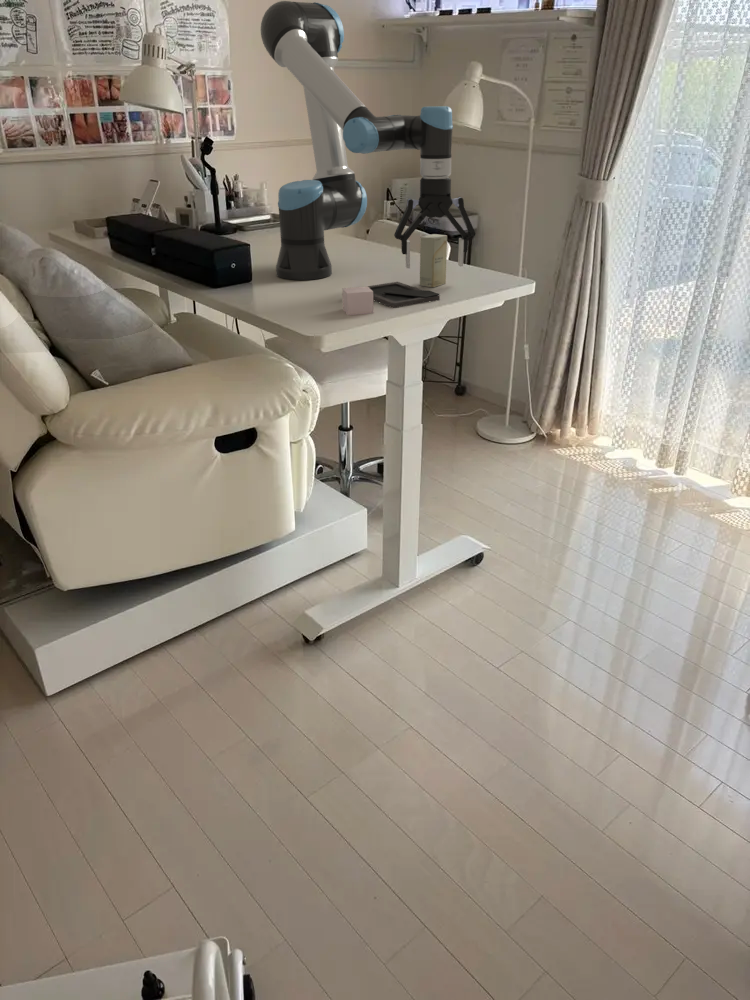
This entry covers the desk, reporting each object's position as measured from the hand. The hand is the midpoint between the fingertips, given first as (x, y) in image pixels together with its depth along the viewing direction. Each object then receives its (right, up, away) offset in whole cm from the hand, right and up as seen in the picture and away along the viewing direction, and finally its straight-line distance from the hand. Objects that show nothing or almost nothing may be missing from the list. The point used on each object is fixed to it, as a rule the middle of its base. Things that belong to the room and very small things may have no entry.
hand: (434, 266), depth 201 cm
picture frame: (-10, -10, -8) cm, 16 cm away
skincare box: (0, -4, +2) cm, 5 cm away
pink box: (-19, -16, -20) cm, 32 cm away
